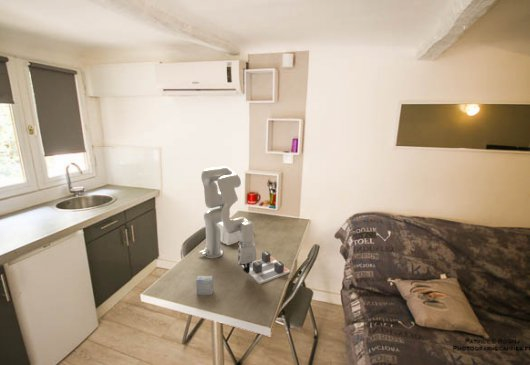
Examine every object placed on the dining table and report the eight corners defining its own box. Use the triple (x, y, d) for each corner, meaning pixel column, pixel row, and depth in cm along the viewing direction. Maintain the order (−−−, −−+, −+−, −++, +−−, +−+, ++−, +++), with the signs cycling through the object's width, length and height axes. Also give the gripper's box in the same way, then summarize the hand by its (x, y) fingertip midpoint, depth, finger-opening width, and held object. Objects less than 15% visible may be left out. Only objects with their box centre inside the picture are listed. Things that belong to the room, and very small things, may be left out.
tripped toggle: (256, 273, 147) (256, 265, 146) (252, 270, 151) (252, 262, 149) (261, 271, 149) (262, 263, 148) (258, 268, 153) (258, 260, 152)
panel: (259, 284, 140) (259, 274, 138) (241, 267, 156) (242, 257, 154) (289, 272, 152) (290, 263, 150) (270, 257, 168) (271, 249, 166)
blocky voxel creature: (258, 239, 198) (232, 249, 177) (237, 230, 214) (210, 238, 192) (260, 221, 196) (233, 229, 174) (238, 213, 211) (211, 219, 190)
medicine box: (213, 289, 134) (213, 275, 132) (211, 295, 130) (211, 280, 128) (198, 289, 134) (197, 275, 132) (196, 295, 129) (195, 280, 127)
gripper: (238, 248, 134) (238, 279, 138) (261, 242, 142) (261, 271, 146) (232, 243, 140) (232, 272, 144) (254, 237, 148) (254, 265, 152)
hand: (246, 271), depth 145 cm, fingers closed
